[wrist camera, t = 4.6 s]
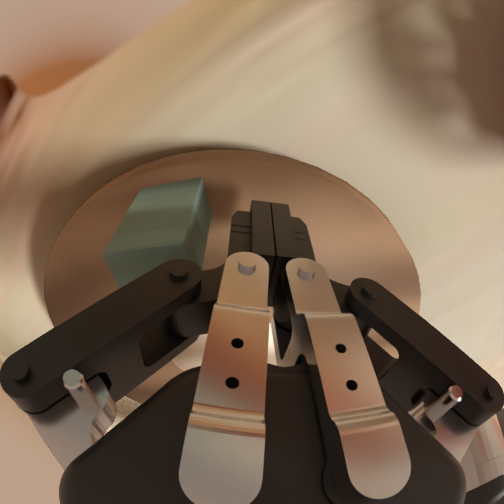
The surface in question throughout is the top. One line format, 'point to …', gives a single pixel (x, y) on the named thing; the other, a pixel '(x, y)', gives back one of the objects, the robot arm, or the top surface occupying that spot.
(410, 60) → the top surface
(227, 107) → the top surface
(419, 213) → the top surface
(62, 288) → the disc
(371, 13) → the top surface
